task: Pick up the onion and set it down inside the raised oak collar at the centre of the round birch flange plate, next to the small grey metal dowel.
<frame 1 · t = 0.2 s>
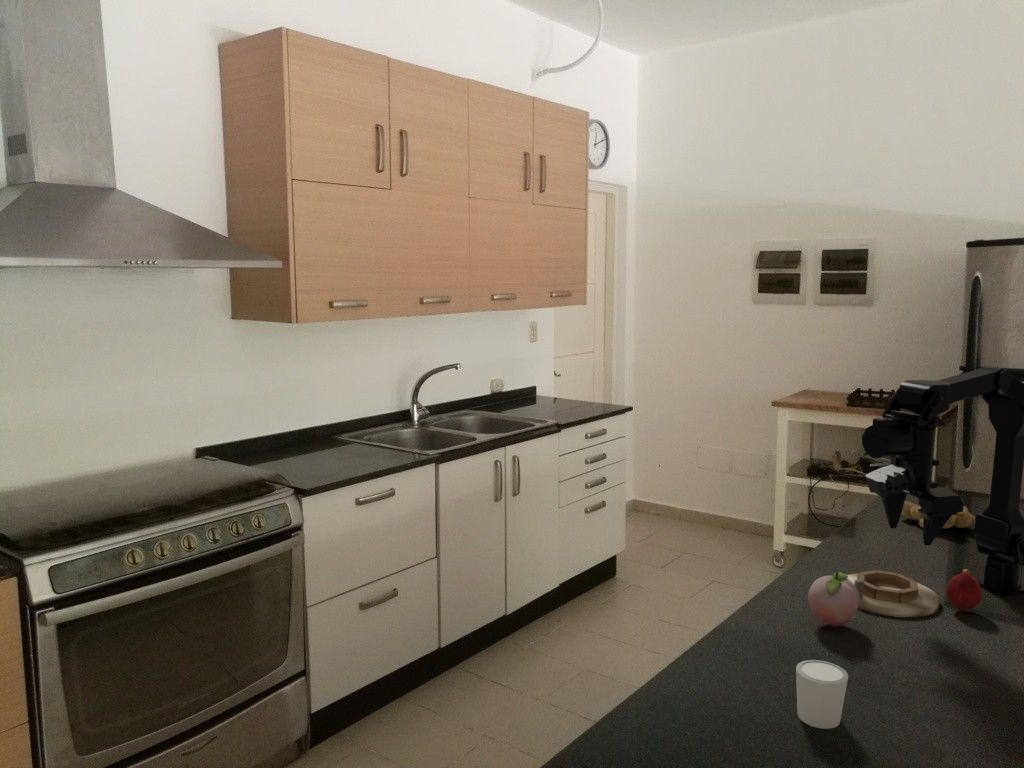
hand: (909, 536, 150), 14 cm above the countertop, tool pointing down, fingers open, 9 cm apart
flange plate: (885, 597, 158), on the countertop
ginger root: (940, 527, 200), on the countertop
decorative fruit: (831, 627, 145), on the countertop
white cup: (818, 718, 117), on the countertop
onion: (962, 612, 152), on the countertop
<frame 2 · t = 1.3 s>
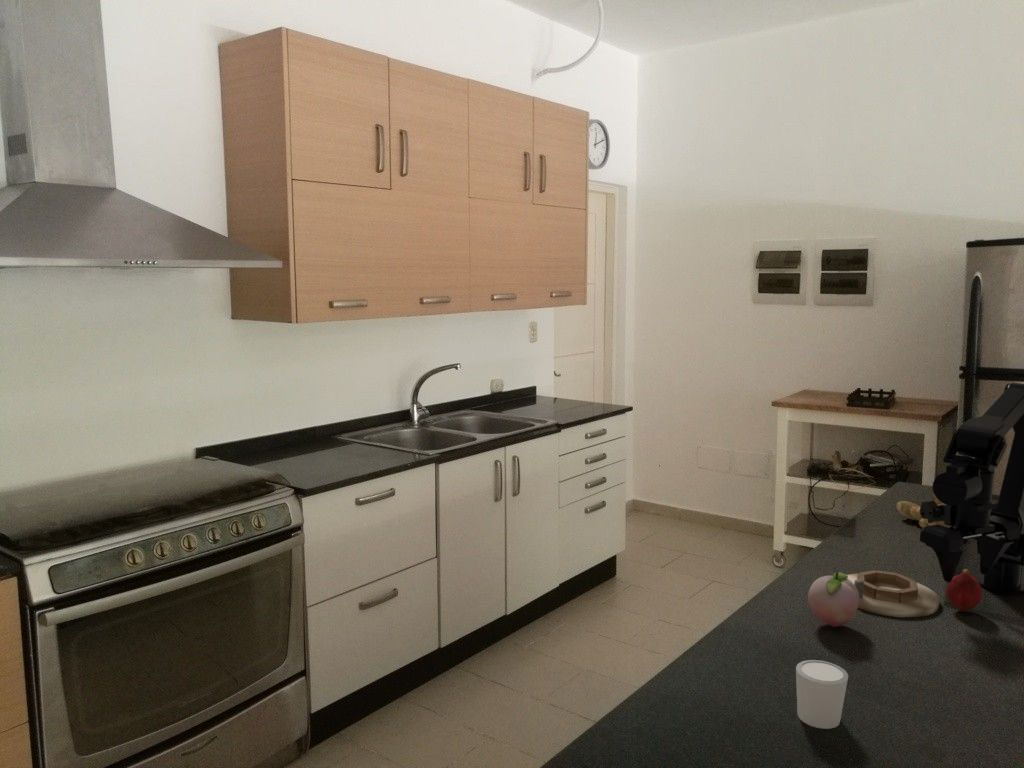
hand: (965, 577, 151), 6 cm above the countertop, tool pointing down, fingers open, 9 cm apart
nothing on the countertop moved.
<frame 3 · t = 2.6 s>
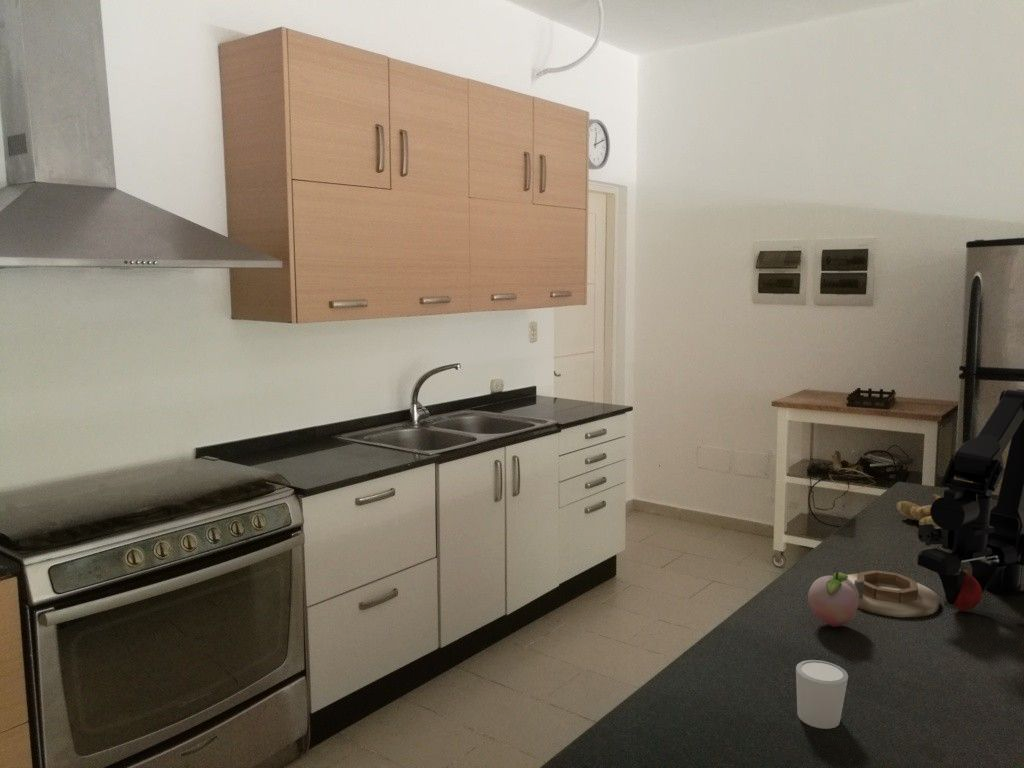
hand: (963, 601, 152), 2 cm above the countertop, tool pointing down, fingers closed on onion, 6 cm apart
onion: (962, 612, 152), on the countertop, touching gripper
everything else where it was.
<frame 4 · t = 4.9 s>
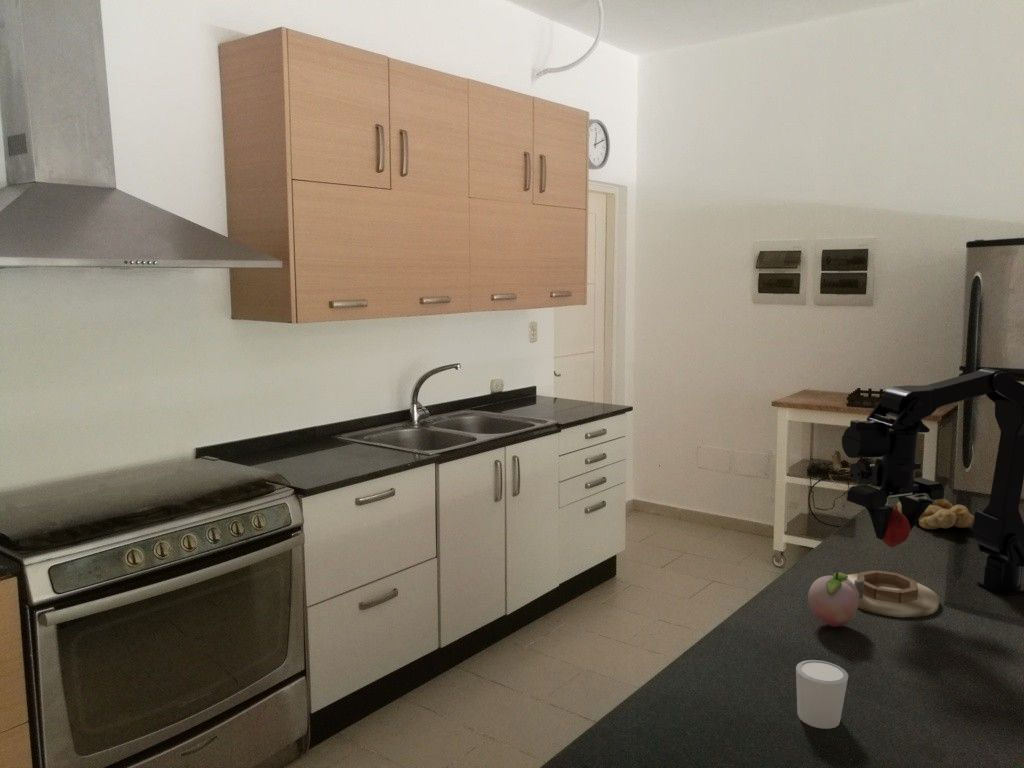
hand: (892, 536, 156), 12 cm above the countertop, tool pointing down, fingers closed on onion, 6 cm apart
onion: (891, 548, 156), point 10 cm above the countertop, touching gripper
everything else where it was.
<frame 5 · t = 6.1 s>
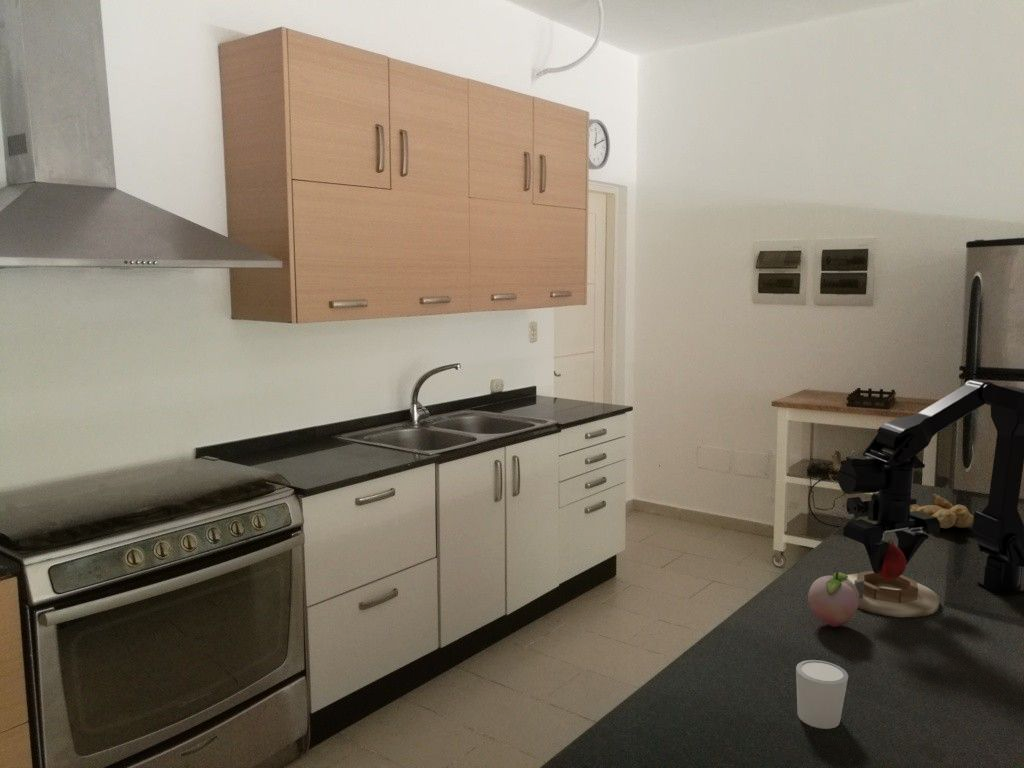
hand: (888, 570, 157), 5 cm above the countertop, tool pointing down, fingers closed on onion, 6 cm apart
onion: (887, 582, 158), point 3 cm above the countertop, touching gripper
everything else where it was.
when the fingers open (5 cm above the countertop, at t = 7.0 s): onion drops 2 cm, resting on flange plate.
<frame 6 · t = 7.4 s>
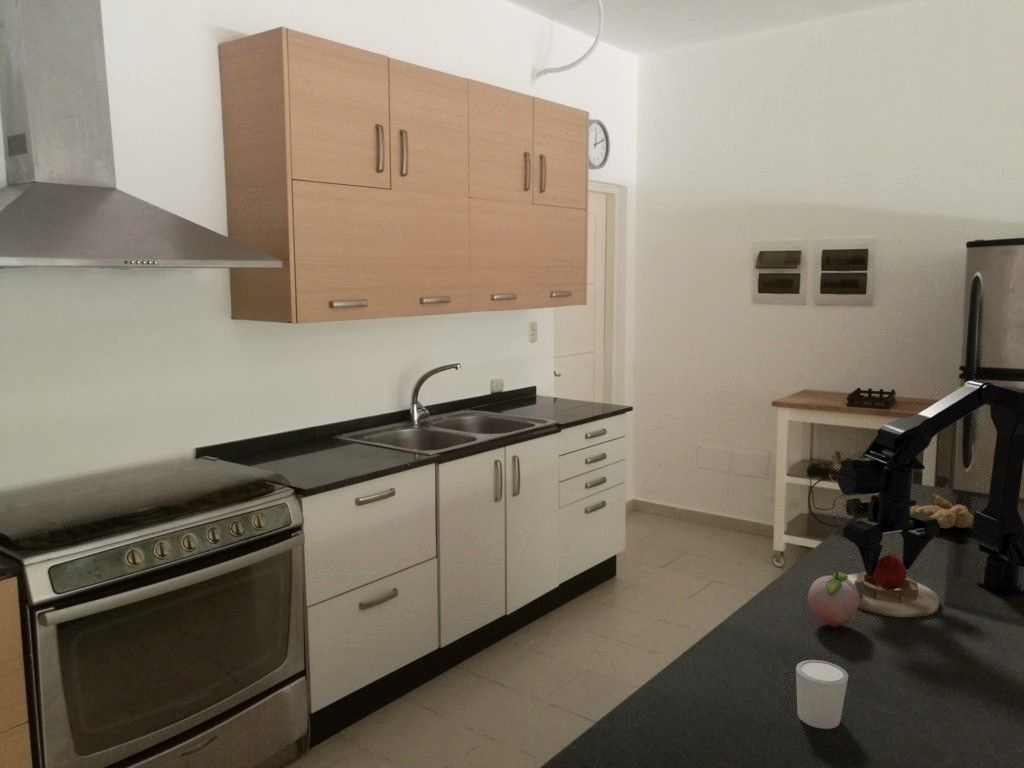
hand: (888, 572, 157), 5 cm above the countertop, tool pointing down, fingers open, 9 cm apart
onion: (886, 591, 158), point 1 cm above the countertop, touching flange plate
everything else where it was.
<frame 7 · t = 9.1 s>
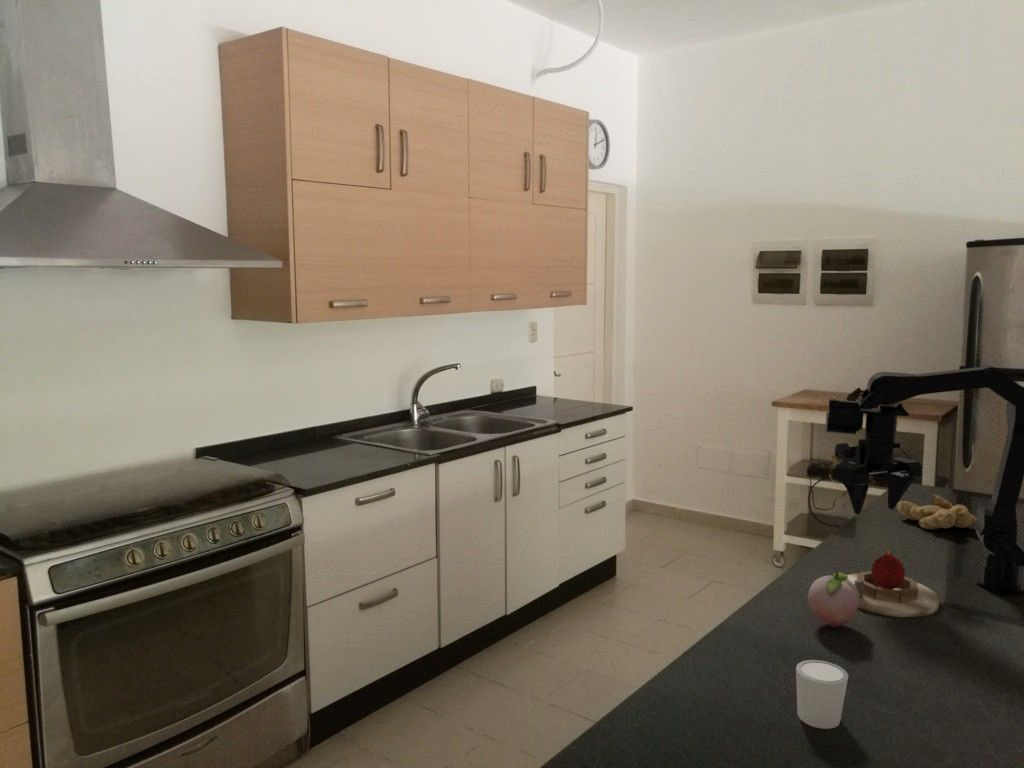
hand: (874, 511, 168), 13 cm above the countertop, tool pointing down, fingers open, 9 cm apart
nothing on the countertop moved.
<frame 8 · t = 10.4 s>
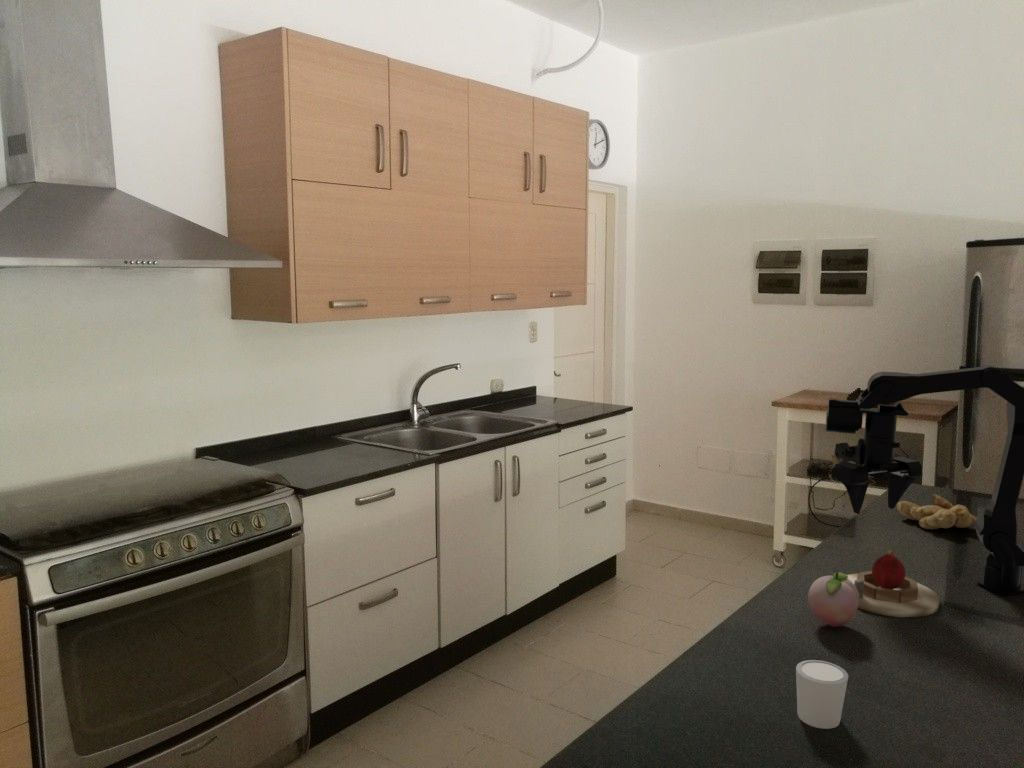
hand: (873, 510, 169), 13 cm above the countertop, tool pointing down, fingers open, 9 cm apart
nothing on the countertop moved.
at the end: onion 0.1 cm off-centre on the flange plate, point 1.0 cm above the flange plate's base; the gripper is holding nothing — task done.
